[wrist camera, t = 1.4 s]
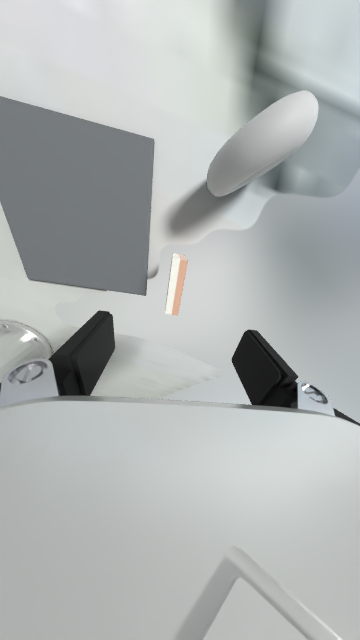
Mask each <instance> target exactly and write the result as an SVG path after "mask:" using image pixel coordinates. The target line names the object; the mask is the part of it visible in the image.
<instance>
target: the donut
mask: <svg viewBox="0 0 360 640" xmlns="http://www.w3.org/2000/svg"><path fill="white" fill-rule="evenodd" d="M317 116H318V102H317V100H316V98H315V97H314V96H313V94H312V93H311V92H308V91H305V90H304V91H300V92H297V93H294V94H290V95H287V96H286V97H284V98H282V99H280V100H279V101H277V102H275V103H273V104H272V105H270V106H269V107H268V108H266V109H265V110H263V111H262V112H261V113H259V114H258V115H256V116H255V117H254V118H253V119H252V120H250V121H249V122H248V123H247V124H246V125H244V126H243V127H242V128H241V129H240V130H239V131H238V132H237V133H236V134H234V135H233V136H232V137H231V138H230V139H229V140H228V141H227V142H226V143H225V145H224V146H223V147H222V148H221V149H220V150H219V151H218V153H217V154H216V156H215V158H214V159H213V161H212V162H211V164H210V166H209V169H208V174H207V187H208V189H209V191H210V193H211V194H212V195H214V196H216V197H223V196H225V195H227V194H230V193H232V192H234V191H236V190H238V189H239V188H241V187H243V186H245V185H246V184H248V183H250V182H252V181H253V180H255V179H256V178H258V177H260V176H261V175H263V174H264V173H266V172H268V171H269V170H271V169H272V168H274V167H275V166H277V165H278V164H280V163H281V162H282V161H284V160H285V159H287V158H288V157H289V156H291V155H292V154H293V153H294V152H296V151H297V150H298V149H299V148H300V147H301V146H302V144H303V143H304V142H305V141H306V140H307V139H308V137H309V135H310V134H311V132H312V130H313V128H314V126H315V123H316V120H317Z"/></svg>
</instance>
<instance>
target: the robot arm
mask: <svg viewBox="0 0 360 640" xmlns="http://www.w3.org/2000/svg"><path fill="white" fill-rule="evenodd" d="M114 349H115V340H114V328H113V316H112V314H110V313H109V312H107V311H98V312H97V313H96V314H95V315H94V316H93V317H92V318H91V319H90V320H88V321H87V322H86V323H85V324H84V325H83V326H82V327H81V328H80V329H79V330H78V331H77V332H76V333H75V334H74V335H73V336H72V337H71V338H70V339H69V340H68V341H67V342H66V343H65V344H63V345H62V346H61V347H60V348H59V349H58V350H57V351H56V352H55V353H54V354H53V355H52V349H51V347H50V345H49V343H48V341H47V340H46V339H45V338H44V337H43V336H42V335H41V334H39V333H38V332H37V331H35V330H34V329H32V328H30V327H28V326H25V325H23V324H20V323H16V322H12V321H0V640H360V424H359V423H358V422H356V421H354V420H353V419H351V418H349V417H348V416H346V415H344V414H343V413H341V412H339V411H338V410H336V409H334V408H333V406H332V402H331V400H330V398H329V397H328V396H327V395H326V394H325V393H324V392H323V391H322V390H321V389H319V388H318V387H316V386H315V385H313V384H311V383H309V382H305V381H300V382H298V383H296V381H295V380H296V379H297V378H298V376H297V375H296V373H295V372H294V371H293V370H292V369H291V368H290V367H289V366H288V365H287V363H286V362H285V361H284V360H283V359H282V358H281V357H280V356H279V354H277V352H276V351H275V350H274V349H273V348H272V347H271V346H270V345H269V343H268V342H267V341H266V340H265V339H264V338H263V337H262V336H261V334H260V333H259V332H258V331H255V330H247V331H246V332H244V334H243V336H242V338H241V340H240V342H239V345H238V347H237V349H236V351H235V353H234V355H233V357H232V363H233V365H234V367H235V369H236V372H237V374H238V376H239V378H240V380H241V382H242V384H243V386H244V389H245V391H246V393H247V395H248V397H249V399H250V402H251V404H252V405H244V404H228V403H213V402H197V401H180V400H163V399H145V398H127V397H105V396H90V394H91V393H92V391H93V389H94V387H95V385H96V383H97V381H98V380H99V378H100V376H101V374H102V372H103V370H104V368H105V366H106V365H107V363H108V361H109V359H110V357H111V355H112V353H113V351H114ZM51 355H52V356H51Z"/></svg>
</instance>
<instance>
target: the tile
mask: <svg viewBox="0 0 360 640" xmlns="http://www.w3.org/2000/svg"><path fill="white" fill-rule="evenodd" d="M187 263H188V260H187V259H186V257H185V256H184V255H179V254H174V253H173V254H172V262H171V270H170V278H169V285H168V292H167V301H166V310H165V314H170V315H178V312H179V306H180V301H181V296H182V290H183V285H184V280H185V274H186V269H187Z"/></svg>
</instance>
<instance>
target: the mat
mask: <svg viewBox="0 0 360 640" xmlns="http://www.w3.org/2000/svg"><path fill="white" fill-rule="evenodd" d="M153 159H154V139H152V138H148V137H145V136H141V135H138V134H134V133H130V132H127V131H123V130H120V129H116V128H112V127H109V126H105V125H102V124H98V123H94V122H91V121H87V120H84V119H80V118H76V117H73V116H69V115H66V114H62V113H59V112H55V111H51V110H48V109H44V108H41V107H37V106H33V105H30V104H26V103H23V102H19V101H15V100H12V99H8V98H5V97H1V96H0V202H1V205H2V208H3V210H4V213H5V216H6V219H7V222H8V224H9V227H10V230H11V233H12V235H13V238H14V241H15V244H16V247H17V249H18V252H19V255H20V258H21V260H22V263H23V266H24V269H25V272H26V274H27V277H28V279H33V280H40V281H47V282H54V283H61V284H68V285H75V286H82V287H89V288H96V289H103V290H110V291H117V292H124V293H131V294H138V295H145V296H146V289H147V271H148V252H149V234H150V215H151V196H152V178H153Z"/></svg>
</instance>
